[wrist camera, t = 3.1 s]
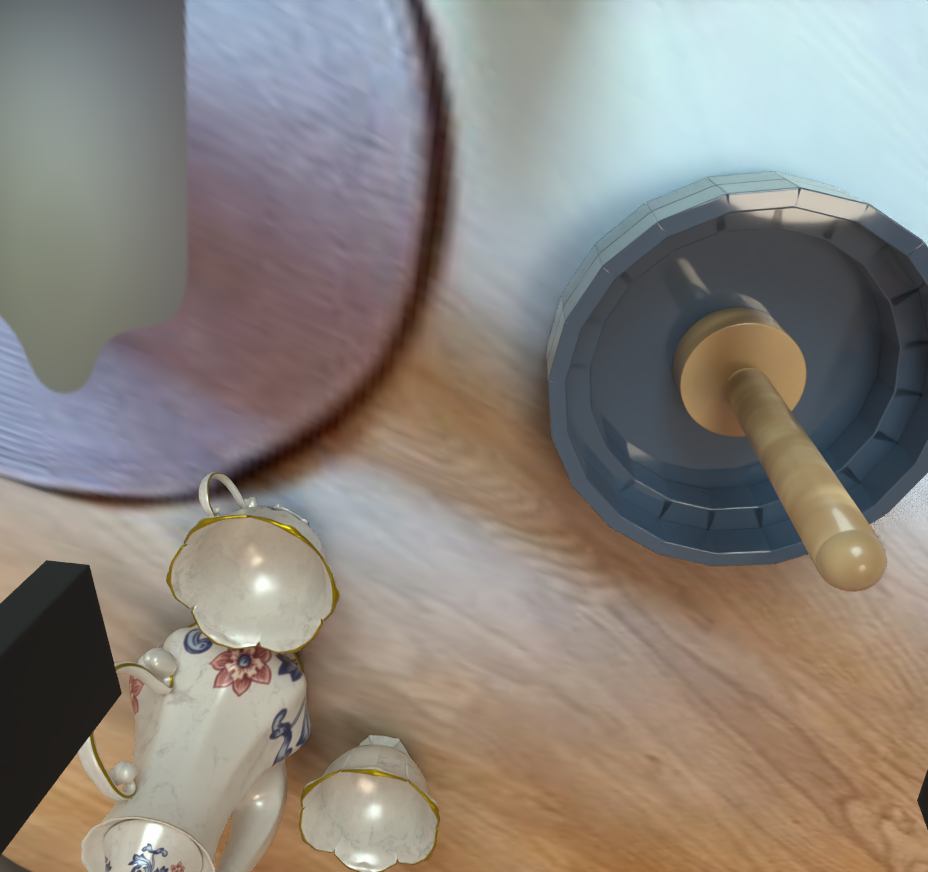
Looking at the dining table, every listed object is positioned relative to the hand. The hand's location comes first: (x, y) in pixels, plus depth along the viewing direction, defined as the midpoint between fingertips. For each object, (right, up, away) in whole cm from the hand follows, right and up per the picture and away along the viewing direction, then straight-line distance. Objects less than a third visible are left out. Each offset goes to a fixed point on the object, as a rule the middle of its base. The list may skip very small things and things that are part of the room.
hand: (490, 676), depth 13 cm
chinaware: (-12, -10, +39) cm, 42 cm away
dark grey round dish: (+13, +8, +28) cm, 32 cm away
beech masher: (+12, +7, +27) cm, 31 cm away
